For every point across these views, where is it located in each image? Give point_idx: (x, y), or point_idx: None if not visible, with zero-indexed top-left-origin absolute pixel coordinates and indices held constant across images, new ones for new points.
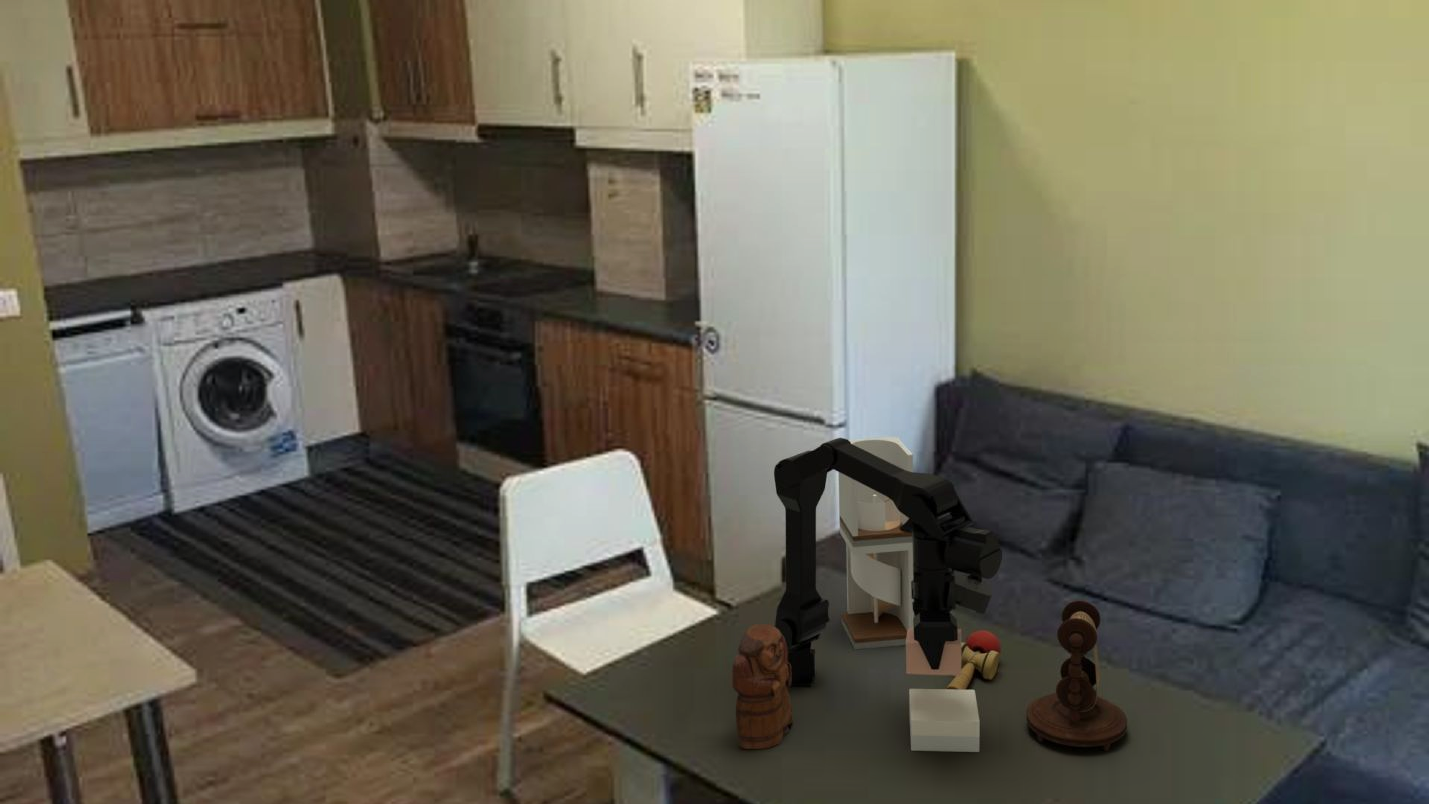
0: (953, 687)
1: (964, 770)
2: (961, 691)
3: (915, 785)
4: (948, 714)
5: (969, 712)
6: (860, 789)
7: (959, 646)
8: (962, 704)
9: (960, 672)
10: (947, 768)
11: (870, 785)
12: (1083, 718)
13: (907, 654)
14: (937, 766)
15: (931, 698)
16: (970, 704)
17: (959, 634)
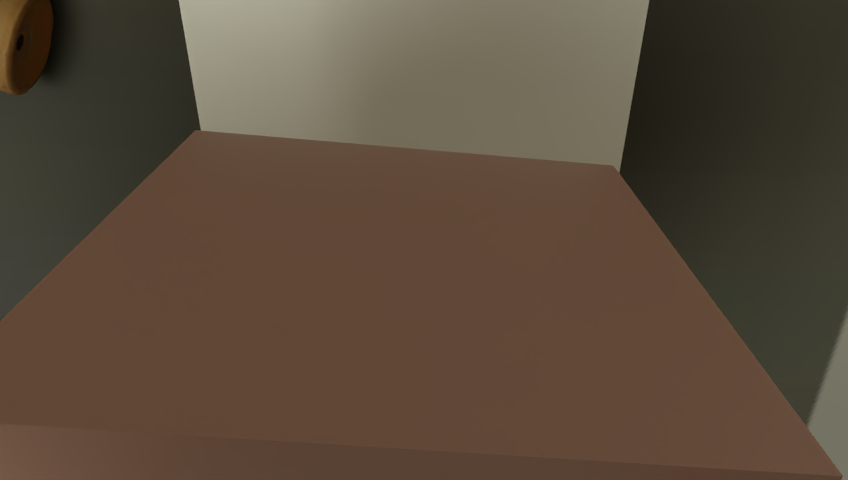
0: (11, 54)
1: (755, 29)
2: (213, 37)
3: (822, 239)
4: (540, 144)
5: (521, 3)
6: (797, 404)
7: (804, 451)
8: (405, 44)
9: (620, 184)
10: (721, 108)
11: (780, 378)
12: None
13: None
14: (696, 150)
15: None
16: None
17: (252, 465)
